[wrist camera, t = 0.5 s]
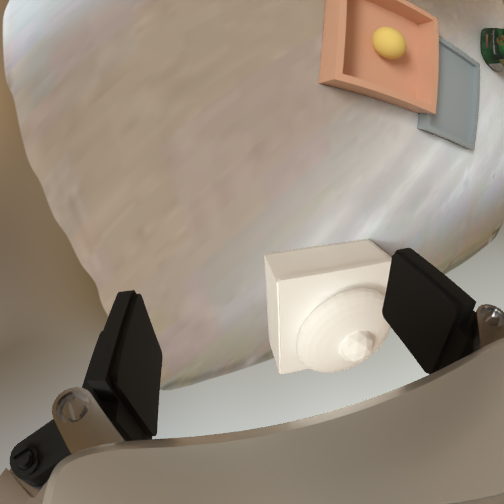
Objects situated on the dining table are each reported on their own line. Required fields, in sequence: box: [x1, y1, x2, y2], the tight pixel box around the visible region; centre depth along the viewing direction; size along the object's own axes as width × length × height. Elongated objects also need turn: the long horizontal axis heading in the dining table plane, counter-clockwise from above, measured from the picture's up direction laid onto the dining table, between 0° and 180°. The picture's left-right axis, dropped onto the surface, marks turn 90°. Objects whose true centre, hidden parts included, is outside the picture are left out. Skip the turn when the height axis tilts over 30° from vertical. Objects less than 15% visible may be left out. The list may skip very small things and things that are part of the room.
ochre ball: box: [371, 27, 407, 59], centre depth 27 cm, size 5×5×5 cm
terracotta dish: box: [319, 0, 439, 114], centre depth 28 cm, size 17×17×5 cm
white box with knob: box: [264, 239, 392, 374], centre depth 40 cm, size 18×18×16 cm
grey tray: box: [418, 36, 480, 150], centre depth 33 cm, size 18×14×2 cm
